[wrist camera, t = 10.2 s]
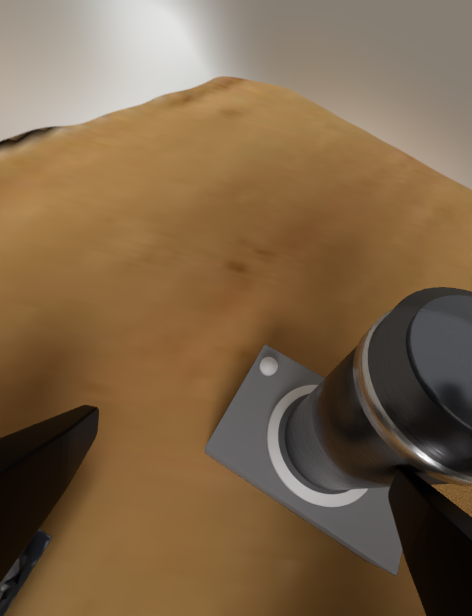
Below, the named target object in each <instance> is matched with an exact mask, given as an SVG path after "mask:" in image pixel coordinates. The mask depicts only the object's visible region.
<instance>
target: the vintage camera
mask: <svg viewBox="0 0 472 616" xmlns="http://www.w3.org/2000/svg"><path fill="white" fill-rule="evenodd" d="M51 538H52V536H51V535H49V534H47V533H46V532H44V531H42V530H41V529H38V530H37V532H36V533H35V535H34V536H33V538H32V539H31V540H30V542H29V543H28V545H27V546H26V548H25V549H24V550H23V552H22V553H21V555H20V556H19V558H18V559H17V560H16V562H15V563H14V565H13V566H12V568H11V569H10V570H9V572H8V573H7V575H6V576H5V578H4V579H3V580H2V582H1V583H0V616H4V614H5V613H6V611H7V610H8V608H9V606H10V605H11V603H12V602H13V600H14V598H15V597H16V595H17V593H18V592H19V590H20V589H21V587H22V585H23V584H24V582H25V581H26V579H27V577H28V576H29V574H30V573H31V571H32V569H33V568H34V566H35V564H36V563H37V561H38V560H39V558H40V556H41V555H42V553H43V552H44V550H45V548H46V547H47V545H48V544H49V542H50V540H51Z"/></svg>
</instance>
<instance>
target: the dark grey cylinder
mask: <svg viewBox="0 0 472 616" xmlns="http://www.w3.org/2000/svg"><path fill="white" fill-rule="evenodd" d="M285 446H286V450H287V454H288V456H289V459H290V461H291V463H292V464H293V466H294V468H295V469H296V470H297V472H298V473H299V474H300V475H301V476H302V477H303V478H304V479H305V480H306V481H308V482H309V483H311V484H312V485H314V486H316V487H319V488H322V489H326V490H350V489H367V488H384V487H390V486H391V483H392V481H393V478H394V475H395V473H396V471H397V470H400V469H402V470H407V471H411V472H414V473H415V474H417V475H418V476H419V477H421V478H422V479H423V480H424V481H426V482H427V483H428V484H430V485H434V484H455V485H460V486H472V292H470V291H467V290H462V289H456V288H446V287H438V288H429V289H423V290H420V291H417V292H415V293H413V294H411V295H409V296H407V297H406V298H405V299H403V300H402V301H401V302H400V303H399V304H398V305H397V306H396V307H395V308H394V309H393V310H391V311H389V312H387V313H386V314H385V315H383V316H382V317H381V318H379V319H378V320H377V322H376V323H375V324H374V325H373V326H372V327H371V328H370V329H369V330H368V331H367V332H366V333H365V334H364V335H363V337H362V338H361V340H360V341H359V343H358V345H357V346H356V347H355V349H354V350H353V351H352V352H351V353H350V354H349V355H348V356H347V357H346V358H345V359H344V360H343V361H342V362H341V363H340V364H339V365H338V366H337V367H336V368H335V369H334V370H333V371H332V372H331V373H330V374H329V375H328V376H327V377H326V378H325V379H324V380H323V381H322V382H321V383H320V384H319V385H318V386H317V387H316V388H315V389H314V390H313V391H312V392H311V393H310V394H309V395H308V396H307V397H306V398H305V399H304V400H303V401H302V402H301V403H300V404H299V405H298V406H297V407H296V408H295V409H294V411H293V412H292V413H291V415H290V416H289V418H288V421H287V424H286V428H285Z"/></svg>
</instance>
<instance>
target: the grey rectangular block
mask: <svg viewBox="0 0 472 616" xmlns="http://www.w3.org/2000/svg"><path fill="white" fill-rule="evenodd" d="M324 379H325V378H324V377H322V376H320V375H319V374H317V373H315V372H313V371H312V370H310V369H308V368H306V367H304V366H303V365H301V364H299V363H297V362H296V361H294V360H292V359H290V358H288V357H287V356H285V355H283V354H281V353H279V352H278V351H276V350H274V349H272V348H271V347H269V346H267V345H264V347H263V348H262V350H261V352H260V353H259V355H258V357H257V359H256V360H255V362H254V364H253V365H252V367H251V369H250V371H249V372H248V374H247V376H246V378H245V379H244V381H243V383H242V384H241V386H240V388H239V390H238V391H237V393H236V395H235V397H234V398H233V400H232V402H231V403H230V405H229V407H228V409H227V410H226V412H225V414H224V415H223V417H222V419H221V421H220V422H219V424H218V426H217V428H216V429H215V431H214V433H213V434H212V436H211V438H210V440H209V441H208V443H207V445H206V447H205V453H206V454H207V455H208V456H210V457H211V458H213V459H214V460H216V461H217V462H219V463H220V464H222V465H223V466H225V467H226V468H228V469H229V470H231V471H232V472H234V473H235V474H237V475H238V476H240V477H241V478H243V479H244V480H246V481H247V482H249V483H250V484H252V485H253V486H255V487H256V488H258V489H259V490H261V491H262V492H264V493H265V494H267V495H268V496H270V497H271V498H273V499H274V500H276V501H277V502H279V503H280V504H282V505H283V506H285V507H286V508H288V509H289V510H291V511H292V512H294V513H295V514H297V515H298V516H300V517H301V518H303V519H304V520H305V521H307V522H308V523H310V524H311V525H313V526H314V527H316V528H317V529H319V530H320V531H322V532H323V533H325V534H326V535H328V536H329V537H331V538H332V539H334V540H335V541H337V542H338V543H340V544H341V545H343V546H344V547H346V548H347V549H349V550H350V551H352V552H353V553H355V554H356V555H358V556H359V557H361V558H362V559H364V560H365V561H367V562H369V563H371V564H373V565H375V566H377V567H379V568H381V569H383V570H385V571H387V572H389V573H391V574H393V575H395V576H397V573H398V568H399V564H400V559H401V554H402V546H401V542H400V539H399V535H398V532H397V528H396V525H395V521H394V518H393V514H392V511H391V507H390V504H389V500H388V492H389V488H390V487H384V488H367V489H350V490H326V489H322V488H319V487H316V486H314V485H312V484H311V483H309V482H308V481H306V480H305V479H304V478H303V477H302V476H301V475H300V474H299V473H298V472H297V470H296V469H295V468H294V466H293V464H292V463H291V461H290V459H289V456H288V454H287V450H286V446H285V428H286V424H287V421H288V418H289V416H290V415H291V413H292V412H293V411H294V409H295V408H296V407H297V406H298V405H299V404H300V403H301V402H302V401H303V400H304V399H305V398H306V397H307V396H308V395H309V394H310V393H311V392H312V391H313V390H314V389H315V388H316V387H317V386H318V385H319V384H320V383H321V382H322V381H323V380H324Z"/></svg>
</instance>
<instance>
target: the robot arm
mask: <svg viewBox="0 0 472 616" xmlns="http://www.w3.org/2000/svg"><path fill="white" fill-rule="evenodd" d="M98 418H99V409H98V408H97V407H94V406H89V405H83V406H80V407H78V408H75V409H73V410H70V411H67V412H65V413H62V414H60V415H57V416H55V417H52V418H50V419H47V420H45V421H42V422H40V423H37V424H35V425H32V426H30V427H27V428H25V429H22V430H20V431H17V432H15V433H12V434H10V435H7V436H5V437H2V438H0V583H1V582H2V580H3V579H4V578H5V576H6V575H7V573H8V572H9V570H10V569H11V568H12V566H13V565H14V563H15V562H16V560H17V559H18V558H19V556H20V555H21V553H22V552H23V550H24V549H25V548H26V546H27V545H28V543H29V542H30V540H31V539H32V538H33V536H34V535H35V533H36V532H37V530H38V529H39V528H40V526H41V525H42V523H43V522H44V520H45V519H46V518H47V516H48V515H49V513H50V512H51V511H52V509H53V508H54V506H55V505H56V503H57V502H58V501H59V499H60V498H61V496H62V495H63V493H64V492H65V490H66V489H67V487H68V485H69V484H70V482H71V480H72V479H73V477H74V475H75V473H76V471H77V470H78V468H79V466H80V464H81V463H82V461H83V459H84V457H85V456H86V454H87V452H88V450H89V449H90V447H91V445H92V443H93V441H94V440H95V437H96V435H97V430H98ZM388 500H389V504H390V507H391V511H392V514H393V518H394V521H395V525H396V528H397V532H398V535H399V539H400V542H401V546H402V550H403V553H404V556H405V559H406V562H407V565H408V568H409V571H410V573H411V576H412V579H413V581H414V584H415V586H416V589H417V592H418V594H419V597H420V600H421V602H422V605H423V608H424V610H425V613H426V616H472V517H471V516H469V515H468V514H467V513H465V512H464V511H463V510H462V509H460V508H459V507H458V506H456V505H455V504H454V503H453V502H451V501H450V500H449V499H447V498H446V497H445V496H444V495H442V494H441V493H440V492H438V491H437V490H436V489H435V488H433V487H432V486H431V485H430V484H428V483H427V482H426V481H424V480H423V479H422V478H421V477H419V476H418V475H417V474H415V473H414V472H411V471H407V470H402V469H400V470H397V471H396V473H395V475H394V478H393V481H392V483H391V486H390V488H389V492H388Z"/></svg>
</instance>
